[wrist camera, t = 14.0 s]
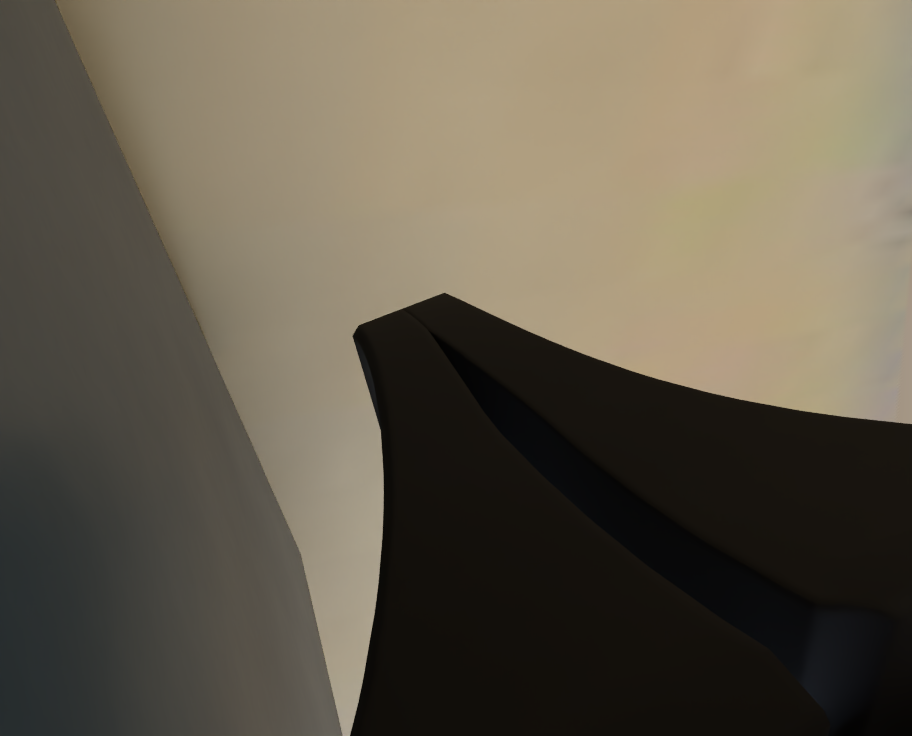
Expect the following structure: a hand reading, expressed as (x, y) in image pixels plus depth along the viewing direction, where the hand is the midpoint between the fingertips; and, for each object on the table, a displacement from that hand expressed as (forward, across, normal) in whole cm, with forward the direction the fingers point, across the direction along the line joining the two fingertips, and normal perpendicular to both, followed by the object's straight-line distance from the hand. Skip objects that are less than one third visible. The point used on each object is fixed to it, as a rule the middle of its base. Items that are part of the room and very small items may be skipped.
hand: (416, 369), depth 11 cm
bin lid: (-3, +4, -1) cm, 5 cm away
